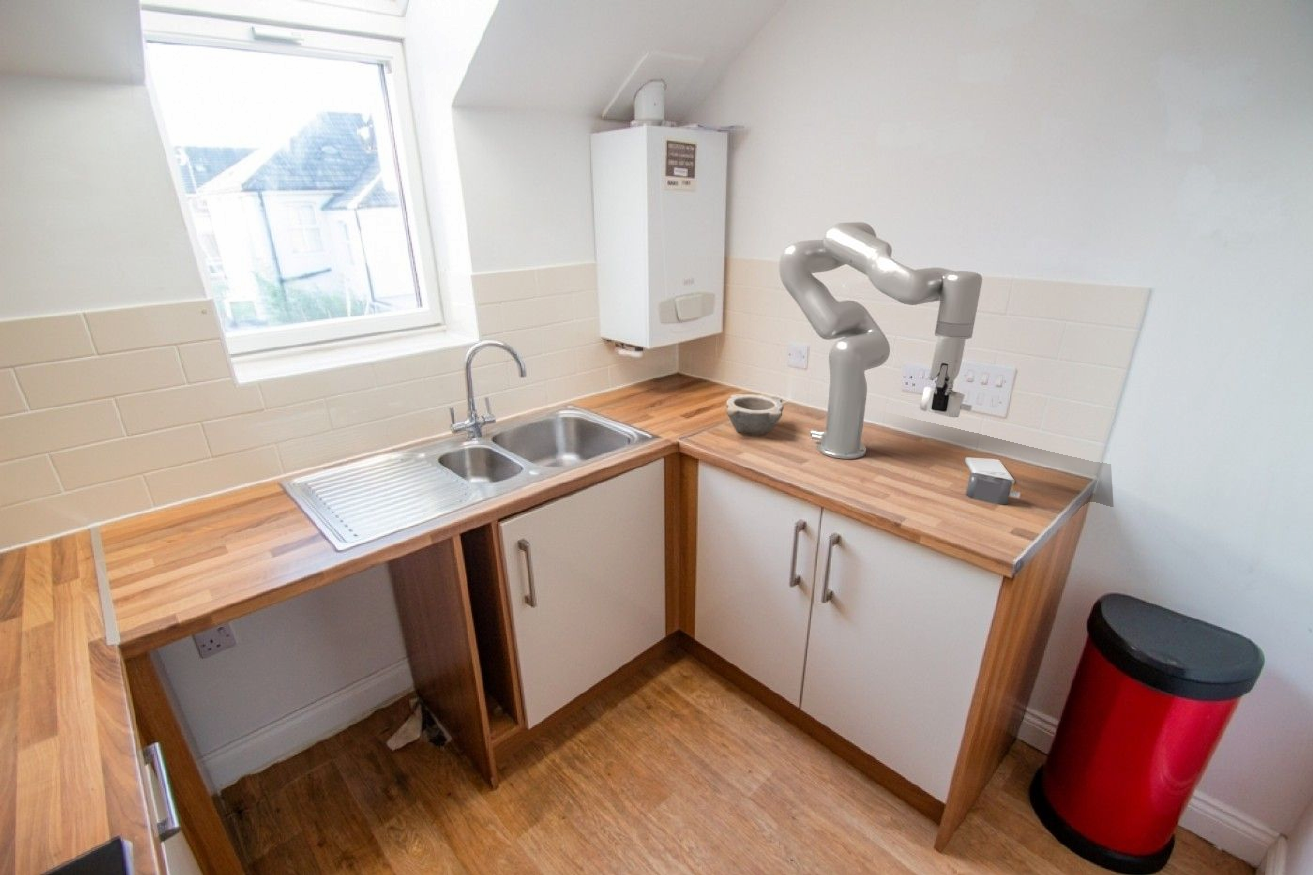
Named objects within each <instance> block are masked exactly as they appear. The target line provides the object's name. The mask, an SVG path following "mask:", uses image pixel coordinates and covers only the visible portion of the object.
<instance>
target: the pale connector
mask: <svg viewBox="0 0 1313 875" xmlns="http://www.w3.org/2000/svg"><path fill="white" fill-rule="evenodd" d="M935 387H936V386H924V388H923V390H922V391H923V392H922V396H921V400H920V405H919V409H920V410H921V411H923V412H927V413H931V414H937V415H940V416H943V417H949V418H959V416H960V413H961V410H963V411H967V412H968V411H969V412H970V411H971V410H972V407H973V406H972V405H970V404H966V403H963V401H964V398H965V394H964V393H961V392H960V391H959V392H958V391H954V390H953V391H949V392H948V395H949V400H948V406H947V410H946V411H945V412H943V411H937V410H932V409H931V408H932V402H933V396H934V392H935Z"/></svg>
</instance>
